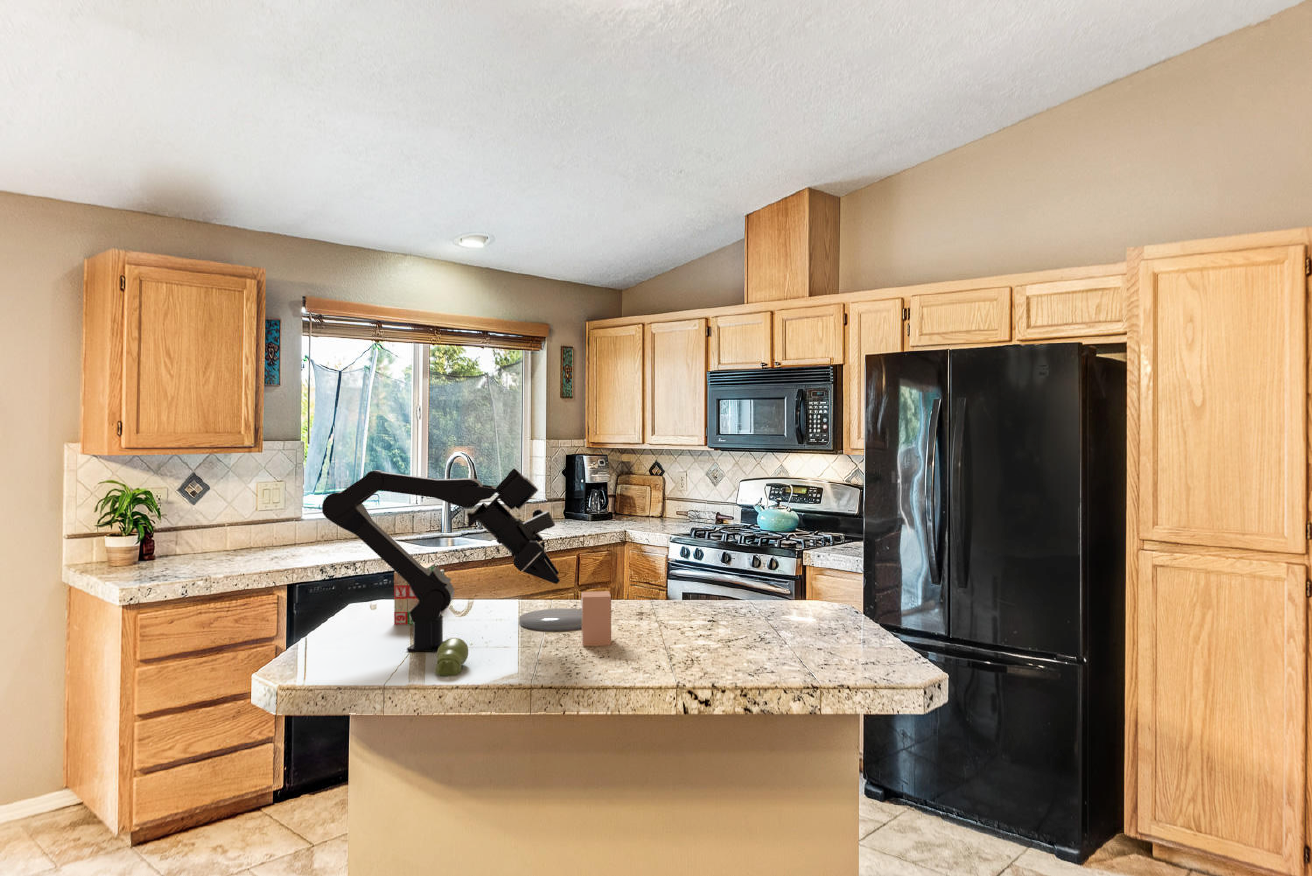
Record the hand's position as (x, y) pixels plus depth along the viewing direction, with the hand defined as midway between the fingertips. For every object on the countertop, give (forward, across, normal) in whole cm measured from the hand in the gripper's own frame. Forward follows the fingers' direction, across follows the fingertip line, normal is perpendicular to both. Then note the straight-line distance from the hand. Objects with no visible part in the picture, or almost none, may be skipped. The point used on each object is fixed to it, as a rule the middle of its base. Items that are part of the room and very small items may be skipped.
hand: (557, 578), depth 173 cm
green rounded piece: (-4, -16, +24) cm, 29 cm away
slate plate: (+10, +20, +9) cm, 24 cm away
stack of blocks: (-13, +33, +32) cm, 48 cm away
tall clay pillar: (+15, 0, +4) cm, 16 cm away
